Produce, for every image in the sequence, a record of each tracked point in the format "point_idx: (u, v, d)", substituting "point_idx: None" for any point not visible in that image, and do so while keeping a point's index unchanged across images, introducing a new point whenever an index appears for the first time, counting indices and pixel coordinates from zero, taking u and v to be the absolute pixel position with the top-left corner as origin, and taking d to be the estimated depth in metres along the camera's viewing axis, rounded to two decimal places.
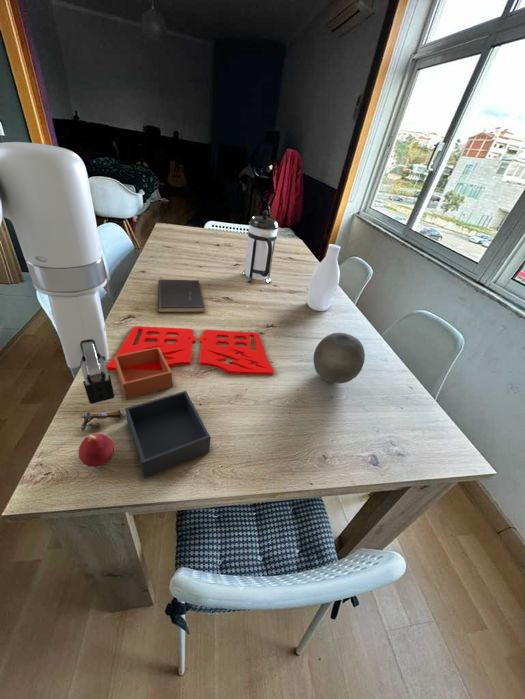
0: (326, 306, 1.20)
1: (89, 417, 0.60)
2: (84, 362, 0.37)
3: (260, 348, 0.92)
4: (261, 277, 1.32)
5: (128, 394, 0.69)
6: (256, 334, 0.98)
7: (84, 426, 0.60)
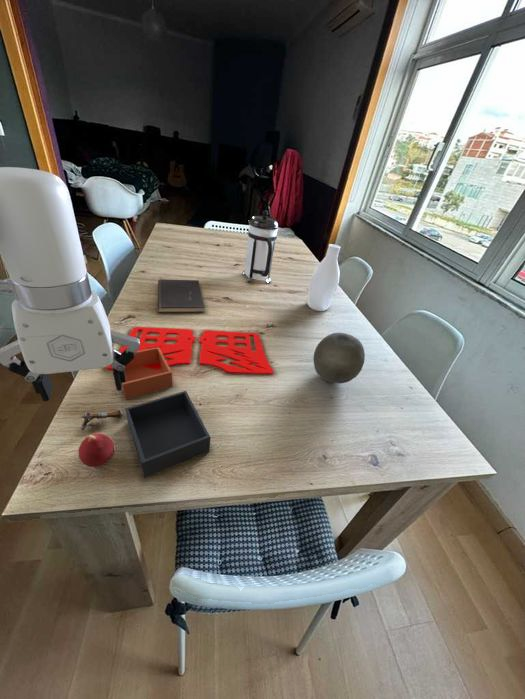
0: (326, 306, 1.20)
1: (89, 417, 0.60)
2: None
3: (260, 348, 0.93)
4: (261, 277, 1.32)
5: (128, 394, 0.69)
6: (256, 334, 0.99)
7: (84, 426, 0.60)
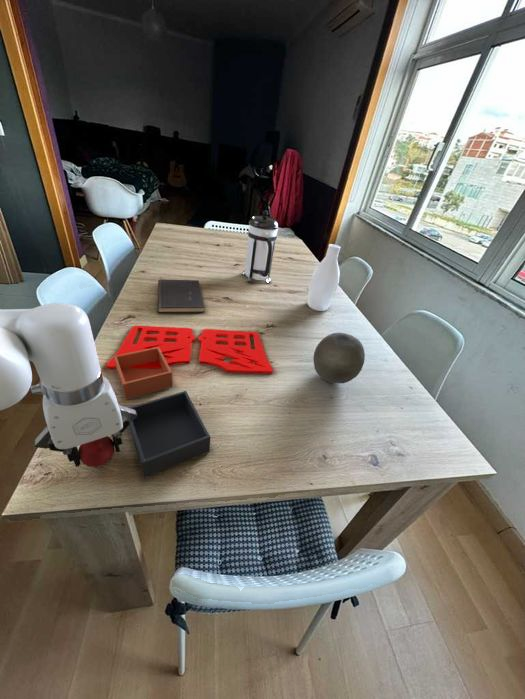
0: (326, 306, 1.20)
1: None
2: None
3: (259, 347, 0.93)
4: (261, 277, 1.32)
5: (128, 394, 0.69)
6: (255, 333, 0.99)
7: None
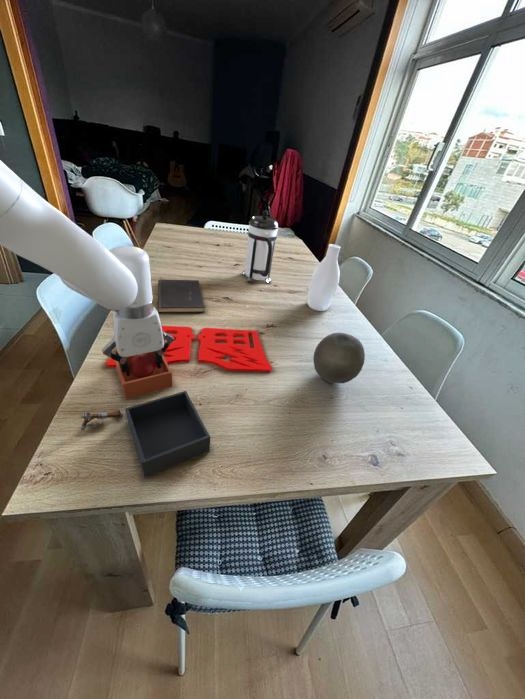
0: (326, 306, 1.20)
1: (89, 417, 0.60)
2: None
3: (258, 346, 0.93)
4: (261, 277, 1.32)
5: (128, 394, 0.69)
6: (254, 332, 0.99)
7: (84, 426, 0.60)
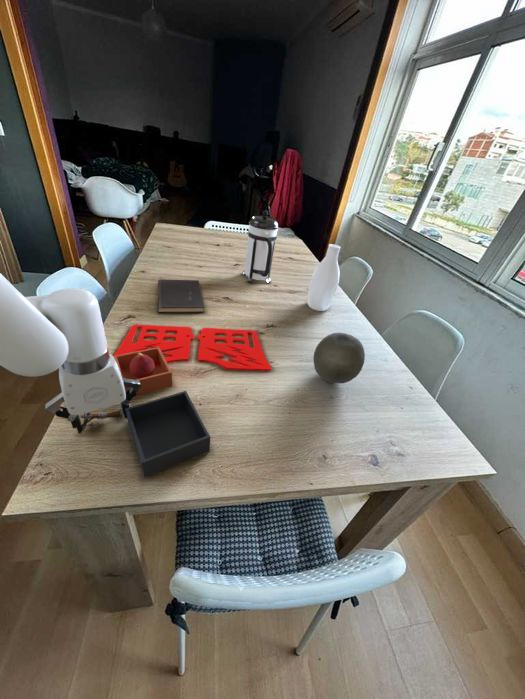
0: (326, 306, 1.20)
1: (89, 417, 0.60)
2: None
3: (258, 345, 0.94)
4: (261, 277, 1.32)
5: None
6: (254, 332, 1.00)
7: (84, 426, 0.60)
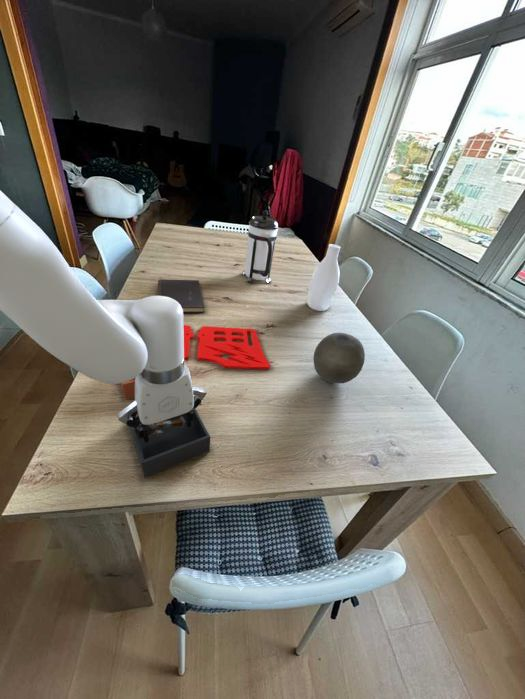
0: (326, 306, 1.20)
1: (155, 426, 0.58)
2: None
3: (257, 344, 0.94)
4: (261, 277, 1.32)
5: (128, 394, 0.69)
6: (253, 330, 1.00)
7: (150, 435, 0.59)
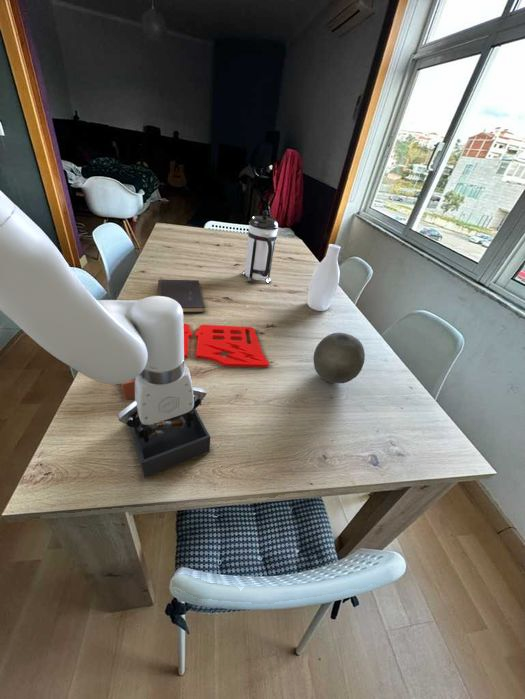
0: (326, 306, 1.20)
1: (155, 426, 0.58)
2: None
3: (255, 342, 0.95)
4: (261, 277, 1.32)
5: (128, 394, 0.69)
6: (251, 328, 1.01)
7: (150, 435, 0.59)
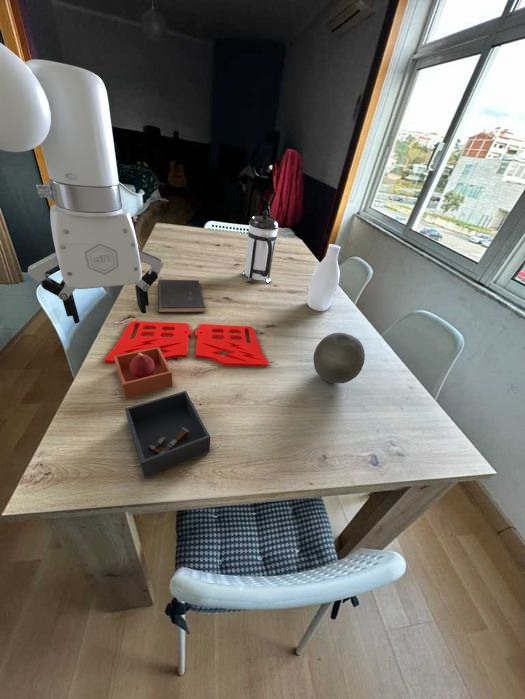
0: (326, 306, 1.20)
1: None
2: None
3: (254, 341, 0.95)
4: (261, 277, 1.32)
5: (128, 394, 0.69)
6: (251, 328, 1.01)
7: None
